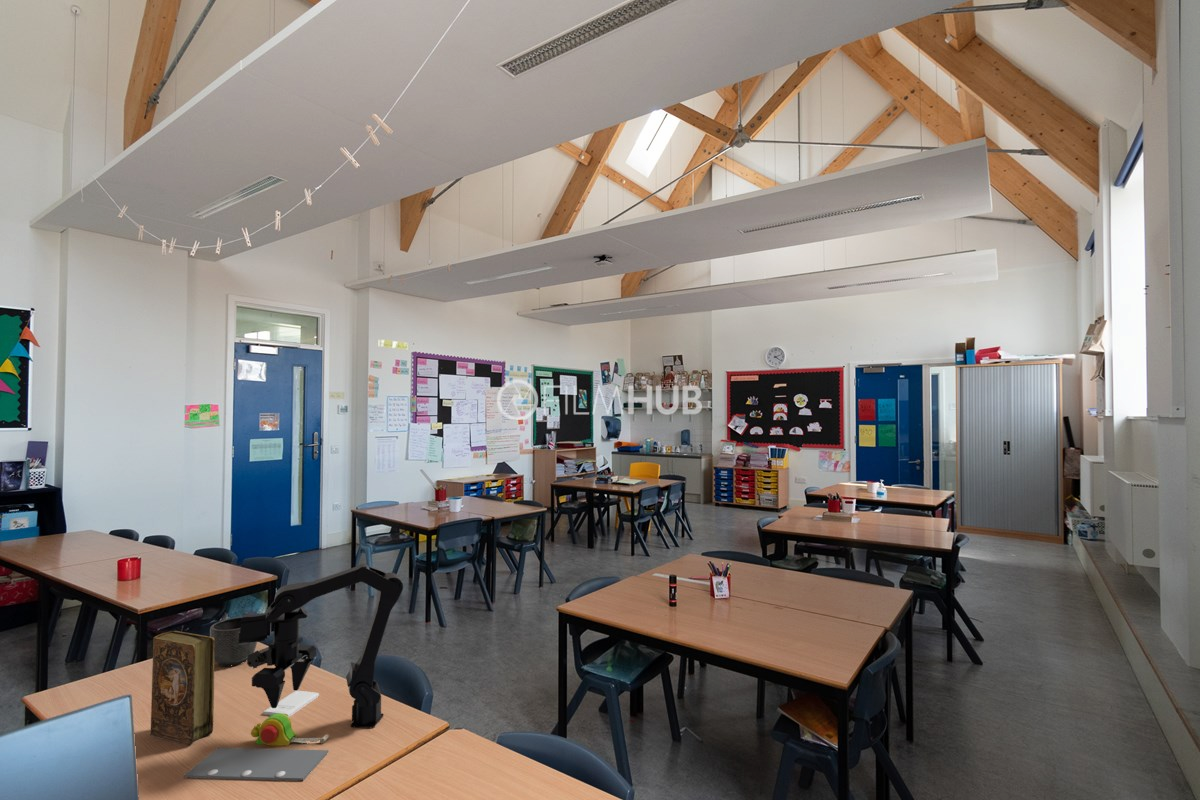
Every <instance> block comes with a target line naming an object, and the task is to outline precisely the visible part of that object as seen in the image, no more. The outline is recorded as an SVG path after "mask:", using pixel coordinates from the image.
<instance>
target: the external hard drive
mask: <svg viewBox="0 0 1200 800" xmlns="http://www.w3.org/2000/svg"><path fill="white" fill-rule="evenodd" d="M318 696H319V697H320V693H319V692H313V691H306V690H305V691H303V690H297V691H295V690H293V692H291V693H290V694H288V695H286V696H285V697H284V698H282V699H279V703H278V705H277V707H276V708H272V707H271V706H269V707H268V708H267V709H265V710H264V711H262V715H264V716H269V717H270V716H271V715H273V714H276V713H282V714H285V715H287V716H288V717H289V718H290V717H291V716H293V715H294V714H296V713H297V712H298V711H300V710H301V709H303V708H304V707H306V706H307V705H309V704H310V703H311V702H313V701H315V700H316V699H317V698H319V697H318Z"/></svg>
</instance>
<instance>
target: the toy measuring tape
mask: <svg viewBox="0 0 1200 800" xmlns="http://www.w3.org/2000/svg"><path fill="white" fill-rule="evenodd" d="M250 735H251V737H252V738H257V739H256V740H255V744H257V745H267V746H283V745H285V746H287V745H288V746H289V745H290V744H291V743H300V744H303V743H307V742H306V741H310V742H317V741H319V740H320V743H321V744H322V743H323V744H325V742H327V740H329V737H330V735H329V734H326V733H325V734H324V735H323V736H322V737H298V738H297V732H295V731H294V729H293V727H292V722H291V718H290V717H288V716H287V715H285V714H282V713H276V714H273V715H271V716H270V715H269V717H267V718H266V719H265V720H264V721H263V722H262V723H259V722H258V723H257V724H256V725H254V726H253V728H252V729H251V730H250ZM306 745H309V744H308V743H307V744H306Z"/></svg>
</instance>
